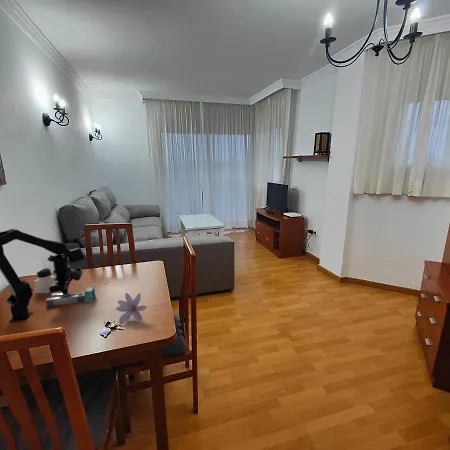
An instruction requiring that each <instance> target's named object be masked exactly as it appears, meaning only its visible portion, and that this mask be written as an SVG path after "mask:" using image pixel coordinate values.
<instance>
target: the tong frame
mask: <svg viewBox="0 0 450 450" xmlns="http://www.w3.org/2000/svg"><path fill="white" fill-rule="evenodd" d="M77 303H78V304H79V303H86V301H85V294H84V292H78V293H77V295H73V296H64V297H55V298H52V297H47V298H46V300H45V305H46V307H47V308H49V307H53V306H59V305H68V304H69V305H70V304H77Z"/></svg>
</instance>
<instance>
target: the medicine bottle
mask: <svg viewBox="0 0 450 450" xmlns="http://www.w3.org/2000/svg"><path fill="white" fill-rule="evenodd" d="M36 275H37V279H35V280H33V284H34V289H35V293H36V294H45V293H46V294H48V295H49V294H50V293H51V292H50V290H49V288H50V286H51V285H52V284H53V283H56V282H58V281H55V278H56V275H52V272H51V269H50V268H49V267H48V268H47V267H46V268H41V269H38V270H37V271H36ZM46 294H45V295H46Z"/></svg>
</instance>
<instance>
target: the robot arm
mask: <svg viewBox="0 0 450 450" xmlns="http://www.w3.org/2000/svg"><path fill="white" fill-rule="evenodd" d="M16 240H17V241H21V242H23V243H27V244H30V245H32V246H33V245H34V246H36V247H38V248H42V249H44V250H46V251H48V252H50V253H52V254H54V255H52V254H50V256H49V257H47V259H46V260H47V261H49V262H50V263H53V268H54V270H53V271H52V273H53V274H55V275H54V276H56V278H55V281H57V282H56V283H53V284H52V285H51V286H50V288H49V290H50V293H58V292H61V293H69V285H70V284H71V282H72V281H80V280H81V278H82V275H83V270H82V268H81V266H77V267H75V268H71V266H70V265H69V264H68V263H70V264H71V265H72V264H76V263H79V262H81V261H84V260H85V254H84V252H83V251H82V249H81V247H75V248H73V249H68V248H67V246H66V244H65V243H63V242H61V241H58V240H50V239H44V238H41V237H39V236H34V235H32V234H29V233H26V232H22V230H21V231H20V230H19V229H16V228H10V229H7V230H4V231H0V272H1V274H2V276H3V277H4V279H5V280H6V281H7V284H8V287H9V290H10V291H9V292H10V293H11V294H10V296H9V297H7V299H6V302H7V304H8V305H9V307H10V313H11V316H12V317H11V318H10V319H9V320H8V322H9V323H12V322H22V321H26V320H27V319H29V317H30V316H32V314H33V310H31V311H29V305H30V301H31V298H32V297H33V295H34V294H33V291H34V289H33V288H32V287H31V284H30V283H29V282H28V281H26V280H25V279H23V280H21V278H20V277H19V276H18V274H17V273H16V271H15V269H14V267H13V266H12V265H11V262H10V261H9V259H8V258H7V256H6V255H5V252H4V247H3V246H4V245H7V244H9V243H10V242H12V241H16Z"/></svg>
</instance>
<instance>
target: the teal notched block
mask: <svg viewBox="0 0 450 450" xmlns="http://www.w3.org/2000/svg"><path fill="white" fill-rule="evenodd" d="M95 289H96V288H95V286H88V287H87V288H86V289H85V291H84V292H83V293H84V294H85V303H91V302H94V300H93V298H96V291H95Z"/></svg>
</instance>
